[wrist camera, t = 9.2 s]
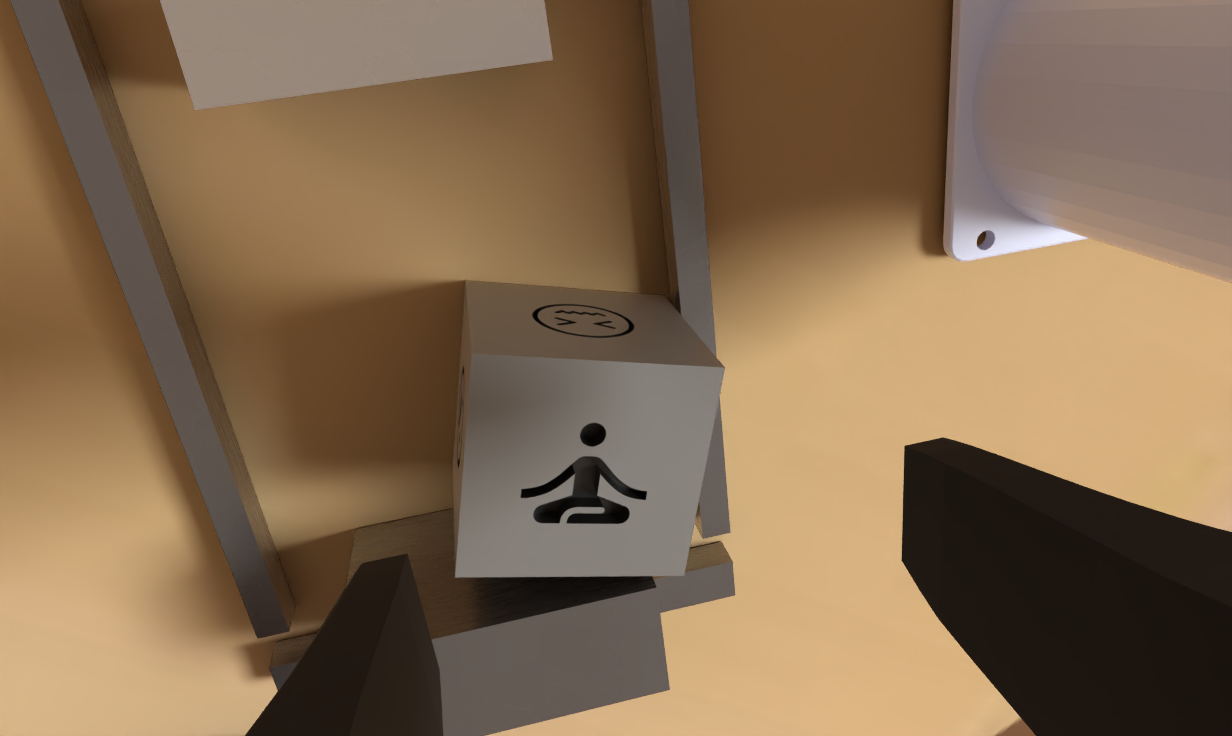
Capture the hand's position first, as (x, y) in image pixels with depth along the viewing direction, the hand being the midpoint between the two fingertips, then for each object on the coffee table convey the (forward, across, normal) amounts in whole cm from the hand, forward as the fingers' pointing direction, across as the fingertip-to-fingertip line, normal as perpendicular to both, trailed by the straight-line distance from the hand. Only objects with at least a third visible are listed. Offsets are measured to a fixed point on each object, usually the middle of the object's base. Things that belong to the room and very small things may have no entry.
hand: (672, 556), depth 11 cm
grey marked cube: (+10, +1, +1) cm, 10 cm away
